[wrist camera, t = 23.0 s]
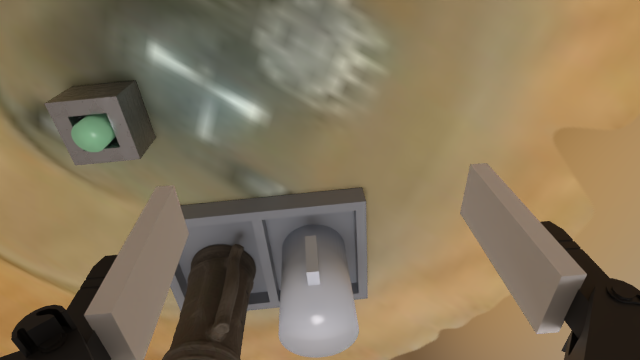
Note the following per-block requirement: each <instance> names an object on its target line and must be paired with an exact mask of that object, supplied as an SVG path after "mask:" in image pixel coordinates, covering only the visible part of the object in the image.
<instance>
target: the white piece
mask: <svg viewBox="0 0 640 360" xmlns="http://www.w3.org/2000/svg"><path fill="white" fill-rule="evenodd" d="M358 333H359V327H358V321H357V315H356V309H355V303H354V298H353V292H352V286H351V280H350V274H349V268H348V262H347V257H346V251H345V245H344V241H343V239H342V237H341V235H340V234H339V233H338V232H337V231H335V230H334V229H332V228H330V227H327V226H324V225H316V224H314V225H306V226H302V227H299V228H297V229H295V230H294V231H292V232H291V233H290V234H289V235H288V236H287V237H286V238H285V240H284V242H283V246H282V266H281V291H280V315H279V339H280V341H281V343H282V345H283V346H284V347H285V348H286V349H288V350H289V351H291V352H293V353H295V354H297V355H301V356H305V357H327V356H331V355H335V354H337V353H340V352H342V351H344V350H346V349H347V348H349V347H350V346H351V345H352V344H353V343H354V342H355V340H356V339H357V337H358Z"/></svg>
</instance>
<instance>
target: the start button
mask: <svg viewBox="0 0 640 360" xmlns="http://www.w3.org/2000/svg"><path fill="white" fill-rule="evenodd" d="M71 136H72V139H73V141H74V142H75V143H76V145H78V146H79V147H80V148H82V149H83V150H86V151H89V152H99V151H102V150H103V149H104V148H105V147H106V146H107V145H108V144H109V143H110V142H111V141H112V140H113V139H114V138H115V137H116V136H115V133H114V131H113V128H112V126H111V123H110V121H109V119H108V116H107V114H106V113H102V114H92V115H87V116H86V117H84V118H83V119H82V120H80V121H79V122H78V123H77V124H75V125H74V126H73V128H72V130H71Z"/></svg>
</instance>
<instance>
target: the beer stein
mask: <svg viewBox="0 0 640 360" xmlns="http://www.w3.org/2000/svg"><path fill="white" fill-rule="evenodd" d="M243 250H244V247H243V246H241V245H239V244H234V245H233V246H229V245H213V246H208V247H206V248H203V249H202V250H200V251H199V252H197V253H196V255H195V256H194V257H193V259H192V262H191V270H190V273H189V276H188V286H187V292H186V296H185V299H184V302H183V306H182V309H181V313H180V319H179V323H178V325H177V327H176V331H175V334H174V337H173V341H172V344H171V347H170V350H169V351H168V352H167V353H166V354H165V355H164V357H163V359H162V360H240V354H241V346H242V339H243V331H244V325H245V319H246V313H247V308H248V302H249V297H250V293H251V291H252V289H253V284H254V282H253V280H254V278H255V274H256V266H255V263H254V260H253V258H252V257H251V256H250V255H249V254H248V253H247V252H245V251H243Z"/></svg>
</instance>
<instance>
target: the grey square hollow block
mask: <svg viewBox="0 0 640 360" xmlns="http://www.w3.org/2000/svg"><path fill="white" fill-rule="evenodd" d="M45 105H46V107H47V109H48V111H49V113H50V115H51V117H52V119H53V121H54V123H55V125H56V127H57V129H58V131H59V133H60V135H61V137H62V139H63V142H64V144H65V146H66V148H67V150H68V152H69V154H70V156H71V158H72V160H73V162H74V164H75V165H84V164H94V163H104V162H114V161H124V160H135V159H141V157H142V156H143V155H144V153H145V152H146V151H147V149H148V148H149V146H150V145H151V144H152V142H153V141H154V140H155V138H156V137H155V134H154V132H153V129H152V126H151V123H150V120H149V117H148V114H147V112H146V109H145V106H144V103H143V100H142V97H141V94H140V91H139V89H138V86H137V83H136V80H135V81H125V82H114V83H104V84H94V85H83V86H73V87H70V88H69V89H67V90H66V91H64V92H62V93H61V94H59V95H57V96H56V97H54V98H52V99H51V100H49V101H48V102H46V103H45ZM102 113H106V114H107V116H108V119H109V121H110V123H111V126H112V128H113V131H114V133H115V136H116V137H115V138H114V139H113V140H112V141H111V142H110V143H109V144H108V145H107V146H106V147H105V148H104V149H103V150H102V151H99V152H89V151H86V150H83V149H82V148H80V147H79V146H78V145H76V143H75V142H74V141H73V139H72V136H71V130H72V128H73V126H74V125H75V124H77V123H78V122H79V121H80V120H82V119H83V118H84V117H86V116H87V115H92V114H102Z"/></svg>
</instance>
